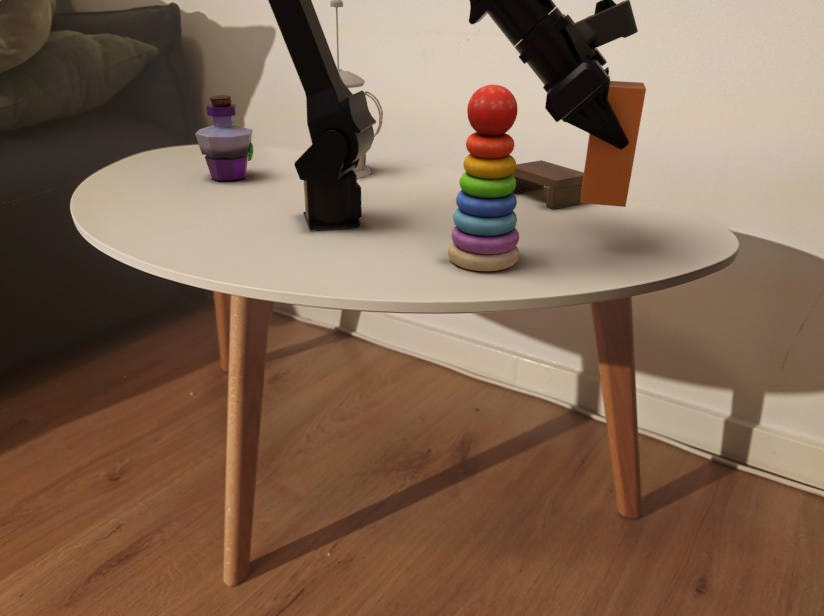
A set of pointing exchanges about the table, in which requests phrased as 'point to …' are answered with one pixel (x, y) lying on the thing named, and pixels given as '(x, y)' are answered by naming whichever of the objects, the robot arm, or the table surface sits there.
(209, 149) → the potion bottle
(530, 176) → the walnut shelf
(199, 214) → the table surface
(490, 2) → the robot arm
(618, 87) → the orange box
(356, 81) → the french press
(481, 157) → the stacking toy
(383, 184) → the table surface
